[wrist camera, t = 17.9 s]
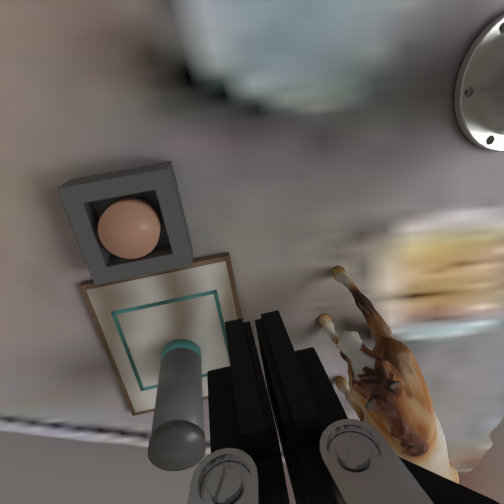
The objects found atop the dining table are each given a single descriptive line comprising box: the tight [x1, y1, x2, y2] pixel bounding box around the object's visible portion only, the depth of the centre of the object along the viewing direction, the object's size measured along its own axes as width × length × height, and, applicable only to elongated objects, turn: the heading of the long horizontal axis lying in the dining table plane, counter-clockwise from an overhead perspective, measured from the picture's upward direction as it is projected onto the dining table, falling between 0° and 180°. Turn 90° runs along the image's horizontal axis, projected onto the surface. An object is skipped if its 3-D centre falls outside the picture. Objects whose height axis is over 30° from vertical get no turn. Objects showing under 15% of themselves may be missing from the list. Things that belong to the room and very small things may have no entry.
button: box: [98, 196, 162, 259], centre depth 31 cm, size 5×5×2 cm
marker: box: [148, 339, 205, 471], centre depth 35 cm, size 5×5×12 cm
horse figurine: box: [318, 266, 459, 484], centre depth 35 cm, size 31×8×21 cm, turn 17°
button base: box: [58, 162, 193, 285], centre depth 32 cm, size 9×9×4 cm
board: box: [80, 252, 242, 416], centre depth 40 cm, size 15×18×1 cm
